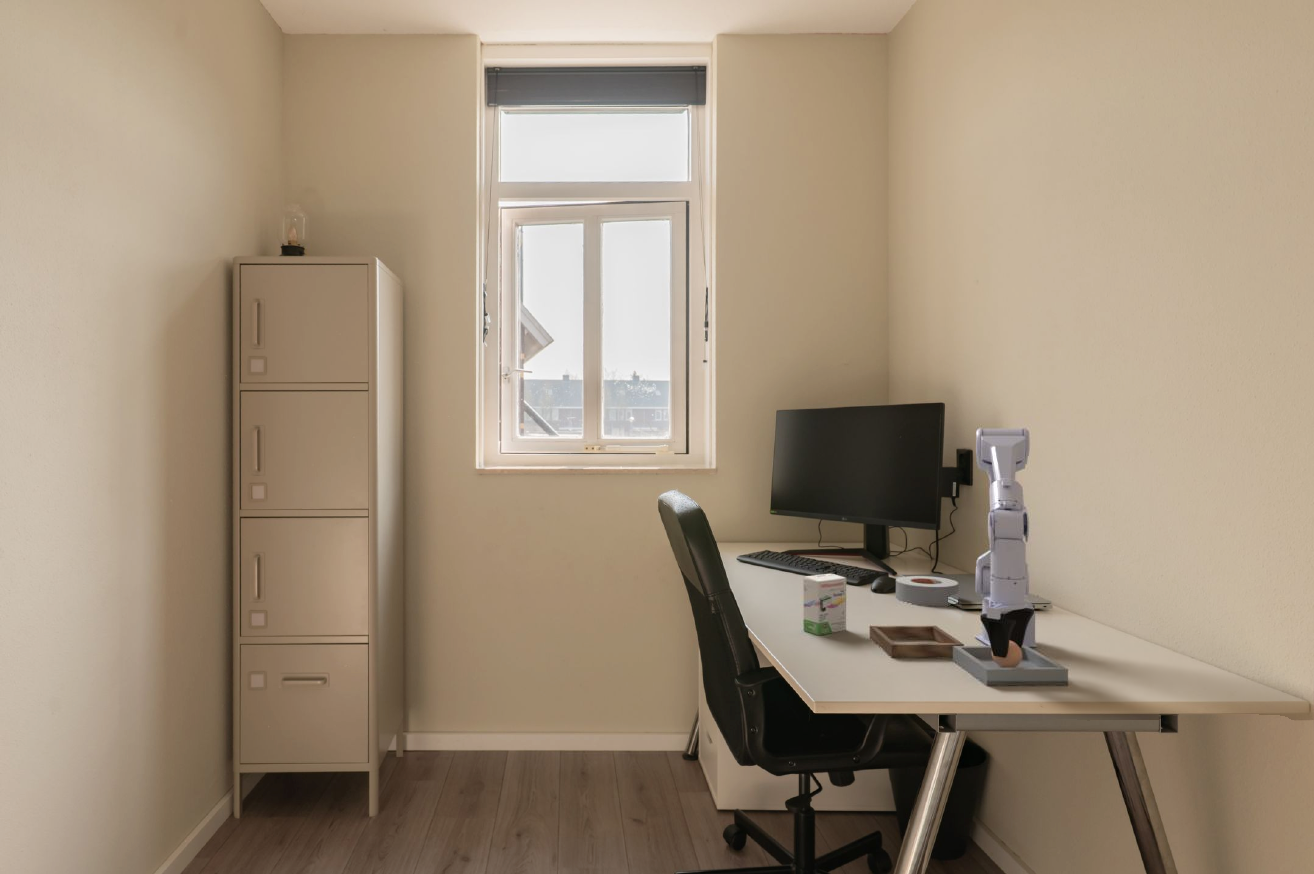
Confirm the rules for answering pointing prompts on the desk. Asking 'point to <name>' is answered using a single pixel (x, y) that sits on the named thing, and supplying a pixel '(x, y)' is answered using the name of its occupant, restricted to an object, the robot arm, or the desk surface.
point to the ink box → (824, 603)
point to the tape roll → (925, 590)
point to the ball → (1010, 657)
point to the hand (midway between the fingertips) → (1007, 651)
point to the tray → (1026, 673)
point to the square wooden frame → (940, 649)
